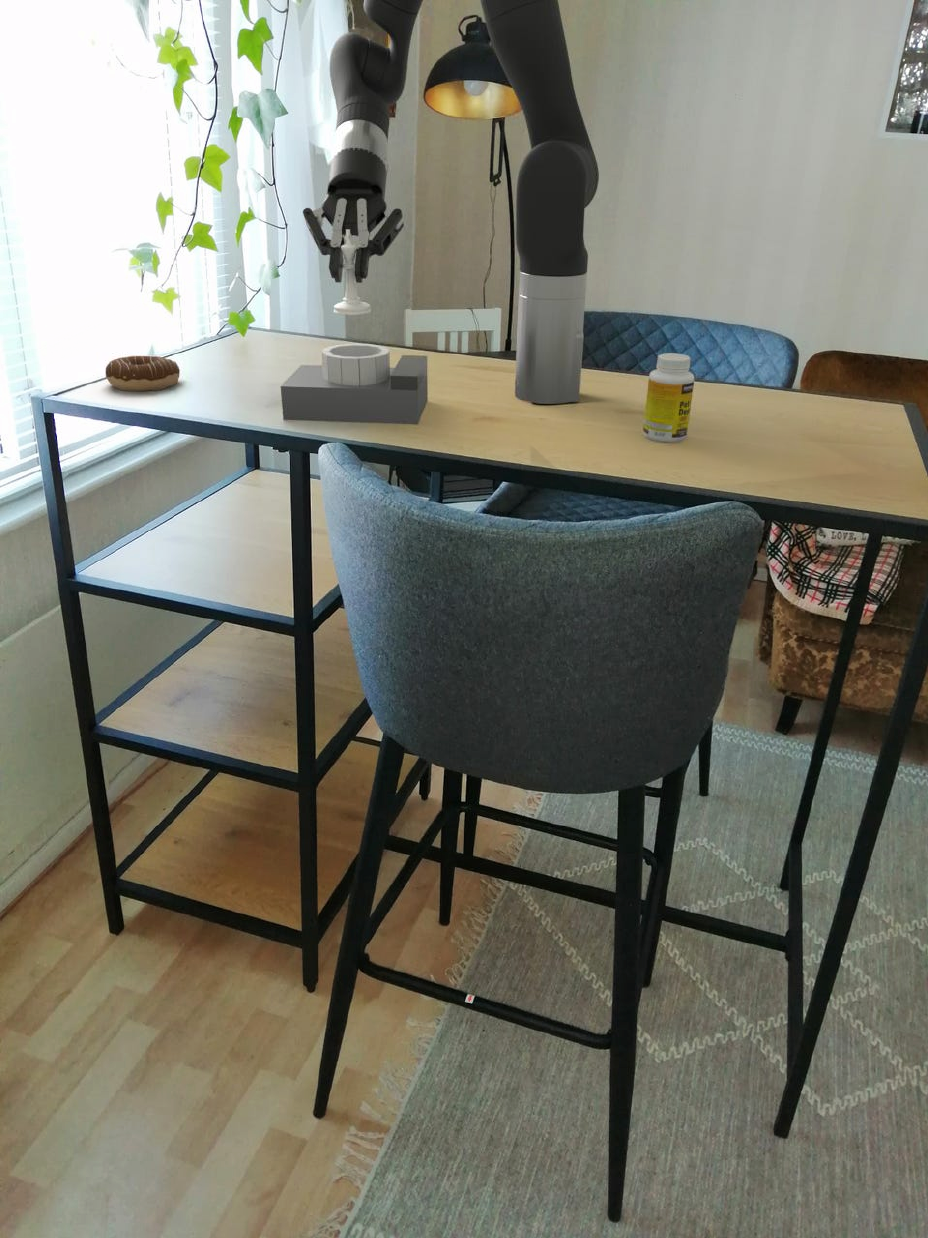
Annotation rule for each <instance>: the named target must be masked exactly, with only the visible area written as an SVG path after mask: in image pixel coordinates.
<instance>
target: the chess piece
mask: <svg viewBox="0 0 928 1238" xmlns="http://www.w3.org/2000/svg"><path fill="white" fill-rule="evenodd" d="M345 239H346V241H347V244H345V245H342V246H341V249H342V252H343V259H344V261H345V263H343V265H342V268H343V269H346V274H345V275H346V279H345V280H346V281H345V294H344V297H343V298H342V300H343V301H341V302H338V303H336V304H335V305H334V306H333V313H335V314H338V315H341V316H342V315H343V316H356V315H365V314H369V313H371V312H372V309H371V304H369V303H367V302H365V301H362V300H361V297H360V296H359V294H358V288H357V283H356V279H355V274H354V269H355V259H356V249H358V246H357V245H356V244H353V243H352V241H351V239H352V236H351V234H350V229H346V235H345Z"/></svg>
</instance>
